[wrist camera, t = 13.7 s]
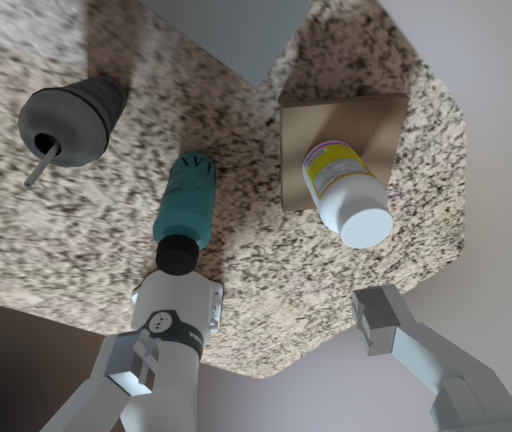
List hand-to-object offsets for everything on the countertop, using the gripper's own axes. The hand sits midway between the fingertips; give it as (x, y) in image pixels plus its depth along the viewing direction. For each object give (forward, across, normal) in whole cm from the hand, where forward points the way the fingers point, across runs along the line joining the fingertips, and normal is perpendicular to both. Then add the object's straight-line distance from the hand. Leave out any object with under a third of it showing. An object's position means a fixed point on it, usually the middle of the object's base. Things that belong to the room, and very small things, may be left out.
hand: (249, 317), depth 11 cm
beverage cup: (+33, +16, -3) cm, 37 cm away
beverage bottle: (+33, +8, +9) cm, 36 cm away
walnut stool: (+33, -11, +8) cm, 36 cm away
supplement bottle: (+25, -10, +9) cm, 28 cm away
